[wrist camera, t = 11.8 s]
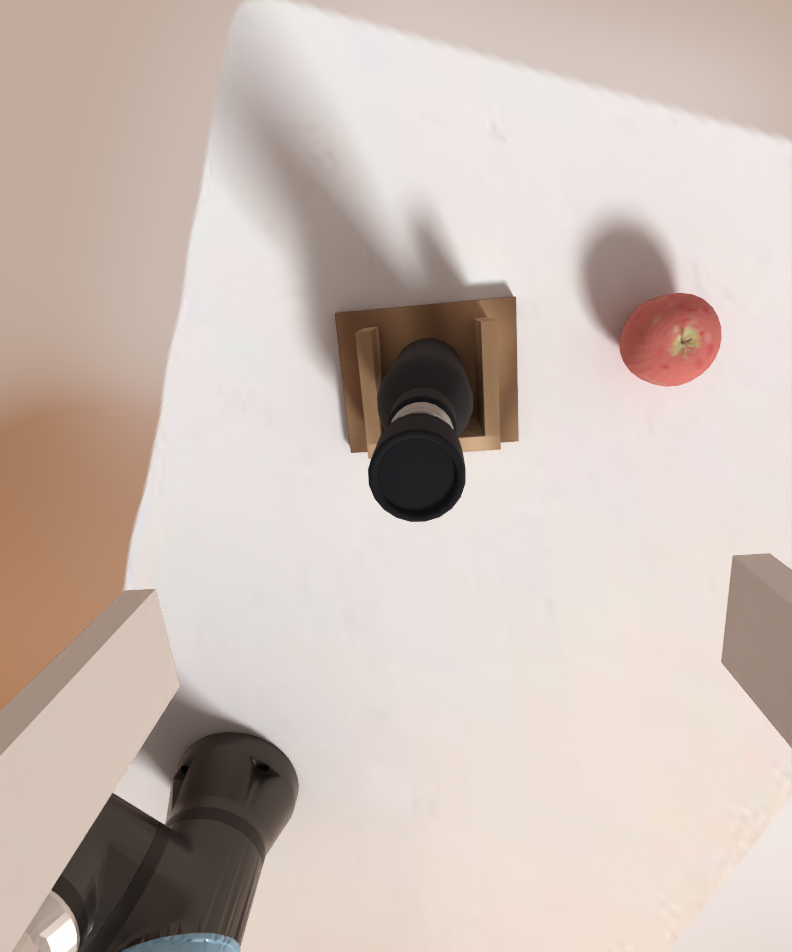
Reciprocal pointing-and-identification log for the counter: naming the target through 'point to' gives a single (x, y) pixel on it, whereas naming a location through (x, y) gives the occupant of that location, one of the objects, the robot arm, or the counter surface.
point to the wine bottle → (421, 432)
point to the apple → (671, 339)
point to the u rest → (464, 329)
